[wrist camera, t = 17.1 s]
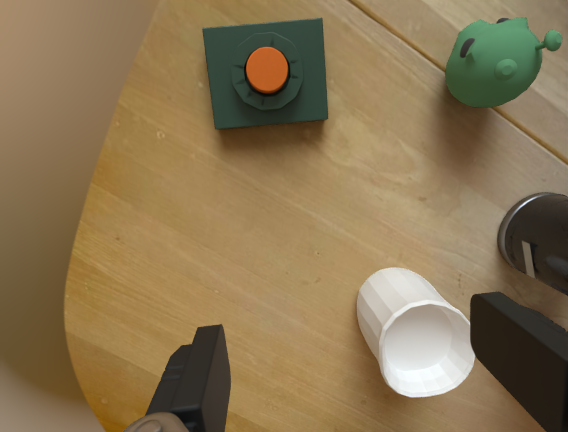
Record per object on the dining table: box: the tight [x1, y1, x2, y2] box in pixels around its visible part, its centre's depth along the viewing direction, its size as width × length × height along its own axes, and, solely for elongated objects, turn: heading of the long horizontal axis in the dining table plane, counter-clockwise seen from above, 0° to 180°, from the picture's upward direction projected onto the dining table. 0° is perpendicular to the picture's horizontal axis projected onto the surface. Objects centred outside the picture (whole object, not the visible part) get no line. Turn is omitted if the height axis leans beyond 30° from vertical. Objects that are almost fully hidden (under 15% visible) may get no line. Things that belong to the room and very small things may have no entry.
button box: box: [202, 18, 328, 130], centre depth 34 cm, size 11×9×4 cm
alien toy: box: [445, 18, 562, 108], centre depth 32 cm, size 7×8×10 cm
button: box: [246, 47, 288, 93], centre depth 32 cm, size 4×4×2 cm
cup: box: [357, 267, 475, 397], centre depth 37 cm, size 10×10×10 cm
